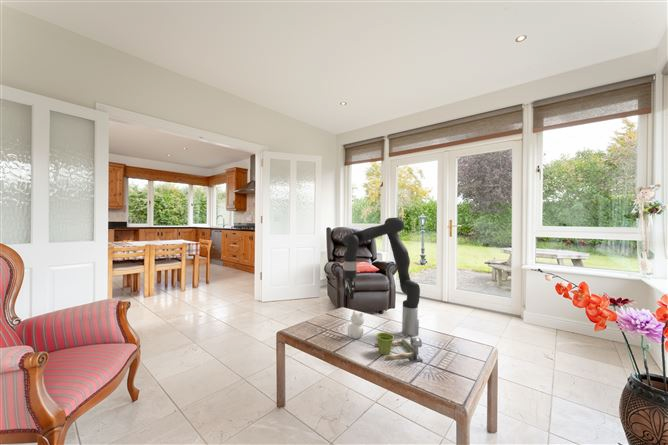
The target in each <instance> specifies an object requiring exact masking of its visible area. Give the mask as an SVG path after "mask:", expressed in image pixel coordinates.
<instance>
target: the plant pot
mask: <svg viewBox="0 0 668 445" xmlns="http://www.w3.org/2000/svg"><path fill="white" fill-rule="evenodd" d="M375 335H376V340H377V343H378V347H377V348H378V353H379V354H380V355H384V356H386V355H391V351H392V347H393V346H392V342H394V341H393V340H394V338H395V336H394V335H393V334H392V333H391V334H390V333H388V332H378V333H377V334H375Z"/></svg>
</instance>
